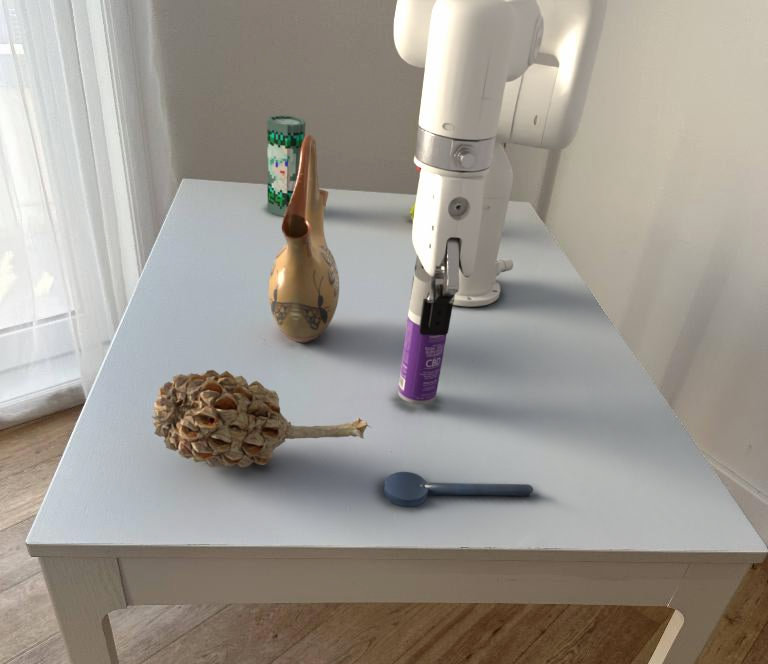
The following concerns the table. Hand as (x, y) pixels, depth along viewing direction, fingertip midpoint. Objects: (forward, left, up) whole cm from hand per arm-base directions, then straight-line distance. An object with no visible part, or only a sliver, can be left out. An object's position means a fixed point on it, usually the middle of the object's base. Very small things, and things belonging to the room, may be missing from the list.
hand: (428, 320), depth 83 cm
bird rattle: (-41, -43, -11) cm, 61 cm away
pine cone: (+22, 0, -11) cm, 25 cm away
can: (-21, -60, -11) cm, 65 cm away
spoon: (+9, +16, -11) cm, 21 cm away
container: (0, 0, -10) cm, 10 cm away
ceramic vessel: (+3, -20, -11) cm, 23 cm away
